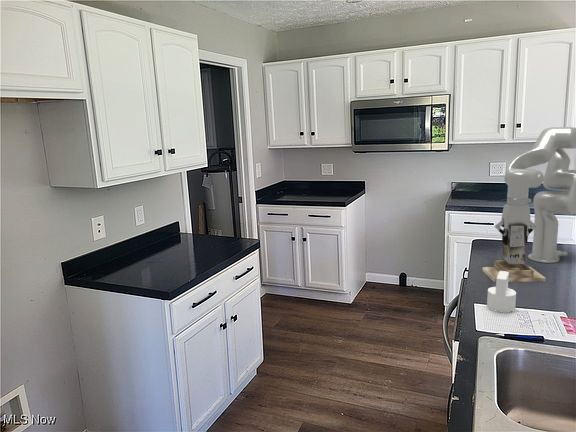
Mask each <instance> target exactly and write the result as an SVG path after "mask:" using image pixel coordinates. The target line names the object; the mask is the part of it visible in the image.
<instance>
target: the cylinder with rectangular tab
mask: <svg viewBox="0 0 576 432" xmlns="http://www.w3.org/2000/svg"><path fill="white" fill-rule="evenodd" d="M508 279H509V272H506V271H499V274H498V276H497V278H496V282H495V286H492V287H489V288H487V298H486V300H487V301H486V307H487V306H488V307H487V308H488V309H489V308H490V309H489V310H491V309H492V310H491V311H493V310H496V311H495V312H497V311H502V312H501V313H503V312H508V313H511V312H510V311H513V310H514V311H515V310H516V302H517V301H516V300H517V292H516V290H514V289H512V288H509V282H508ZM514 311H513V312H514Z"/></svg>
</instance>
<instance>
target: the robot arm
mask: <svg viewBox="0 0 576 432" xmlns="http://www.w3.org/2000/svg"><path fill="white" fill-rule="evenodd" d="M564 149H573V150H574V149H576V127H572V126H562V127H561V126H559V127H556V126H554V127H553V126H552V127H547V128H544V129H543V130H542V131H541V132H540V134H539V136H538V137H537V139H536V141H535V142H534V144H533V146H532V147H531V149H530V150H528V151H526V152H524V153H522V154H521V155H519V156H517V157H516V158H514V160H512V161H511V162H510V163H509V166H508V167H507V168H506V169H507V170H506V172H505V174H504V183H505V184H506V185H507V194H506V197H507V198H506V204H504V205H503V209H502V214H501V220H500V221H499V222H498V223H497V224H495V225H494V227H495V229H496V230H497V231H498V232H499V233H500V234H501V242H502V244H503V245H507V244H508V236H507V234H508V230H509V225H517V224H526V225H527V238H526V244H527V243H528V239H529V238H528V237H529V235H530V234H531V233H533V235H532V236H533V237H532V250H531V253H529V254H528V256H527V258H528V259H529V260H531V261H533V262H539V263H545V264H546V263H547V264H554V263H558V262H560V260H561V259H560V257H562V256H563V257H566V256H568V251H562V250H558V249H557V247H558V246H557V245H558V237H559V236H558V233H559V220H558V218H557V217H556V215H555V214H557V215H563V216H564V215H566V216H572V215H575V214H576V169H570V165H571V158H570V156H569V155H568V153H567V152H566V150H564ZM546 163H547V166H546V169H545V172H544V173H543V172H542V171H541V170H538V169H534V168H533V169H532V168H531V167H536V166H540V165H542V164H546ZM530 168H531V169H530ZM541 185H542V186H543V187H544V189H547V190H545V191H539V192H537V193H536V194H535V195H534V196H533V201H532V199H531V198H529V192H530V191H529V189H536V188H539V187H540V186H541ZM548 190H551V191H548ZM558 191H561V192H558ZM531 202H533V209H534V221H532V220H531V210H530V205H529V203H531ZM501 227H502V228H503V229H502V228H501Z"/></svg>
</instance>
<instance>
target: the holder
mask: <svg viewBox="0 0 576 432" xmlns="http://www.w3.org/2000/svg"><path fill="white" fill-rule="evenodd" d="M481 271H482V272H483V273H484V274H485V275H486V276H488V278H489V279H490V281H492V282H493V283H496V278H497V276H498V274H499V271H506V272H509V279H508V283H510V282H511V283H513V282H516V283H517V282H521V283H522V282H528V283H529V282H532V283H533V282H546V277H545V276H544V275H543V274H541V273H540V272H538V271H537V270H536V269H534V268H533V267H532V266H529V265H527V264H525V263H524V264H509V263H508V262H507V261H506V260H493V266H485V267H482V270H481Z"/></svg>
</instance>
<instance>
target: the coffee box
mask: <svg viewBox="0 0 576 432" xmlns="http://www.w3.org/2000/svg"><path fill="white" fill-rule="evenodd" d="M507 236H508V244H507V245H504V244H503V247H502V248H503V249H502V250H503V251H502V258H503V259H504V261H507V262H508V263H509V264H525V262H526V248H527V243H526V238H527V225H526V224H517V225H509V230H508V234H507Z"/></svg>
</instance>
